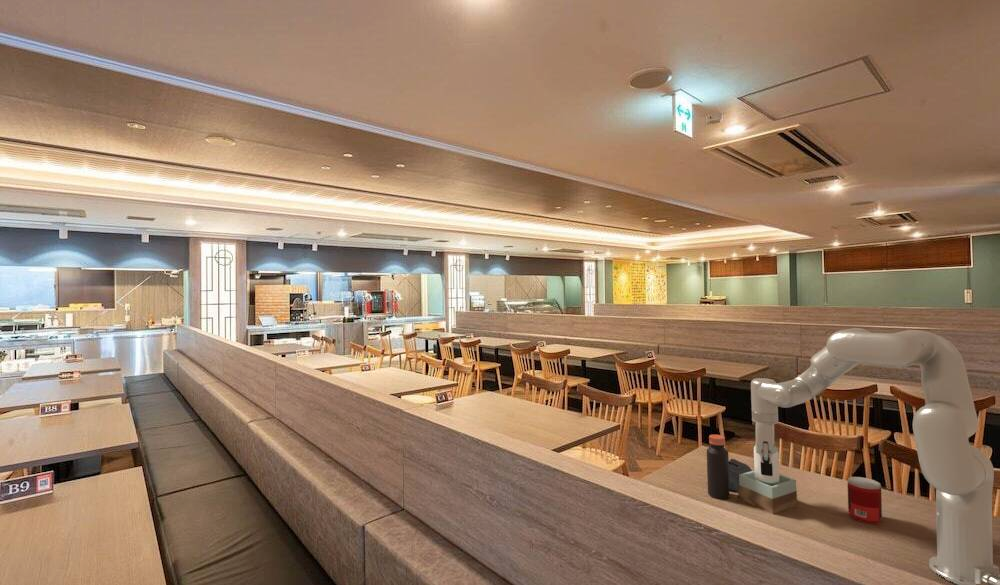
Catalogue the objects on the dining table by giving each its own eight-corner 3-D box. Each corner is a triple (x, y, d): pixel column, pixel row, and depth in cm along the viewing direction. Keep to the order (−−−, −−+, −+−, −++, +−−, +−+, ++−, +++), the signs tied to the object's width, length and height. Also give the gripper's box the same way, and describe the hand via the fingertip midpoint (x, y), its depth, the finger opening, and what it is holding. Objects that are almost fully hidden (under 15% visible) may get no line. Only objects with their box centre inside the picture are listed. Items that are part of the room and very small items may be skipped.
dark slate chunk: (700, 485, 167) (700, 472, 167) (720, 466, 183) (720, 454, 183) (746, 497, 156) (746, 483, 156) (763, 476, 172) (763, 463, 172)
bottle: (727, 491, 160) (725, 434, 160) (731, 500, 153) (729, 440, 153) (706, 489, 162) (704, 433, 162) (709, 498, 155) (707, 439, 155)
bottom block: (797, 506, 149) (796, 490, 149) (772, 515, 144) (772, 499, 144) (762, 491, 160) (761, 477, 160) (738, 499, 155) (738, 484, 155)
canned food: (888, 525, 135) (887, 487, 135) (857, 523, 137) (856, 486, 136) (872, 512, 142) (871, 477, 142) (843, 511, 144) (842, 475, 144)
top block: (796, 490, 149) (795, 480, 149) (772, 498, 144) (772, 487, 144) (762, 478, 159) (762, 467, 159) (739, 485, 154) (739, 474, 154)
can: (758, 484, 149) (757, 447, 149) (752, 475, 156) (750, 440, 156) (782, 485, 147) (781, 448, 147) (775, 476, 154) (773, 440, 154)
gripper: (752, 409, 161) (754, 460, 161) (751, 422, 146) (753, 478, 146) (777, 411, 157) (779, 463, 157) (778, 425, 142) (780, 482, 142)
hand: (766, 470), depth 152 cm, fingers closed on can, 7 cm apart
